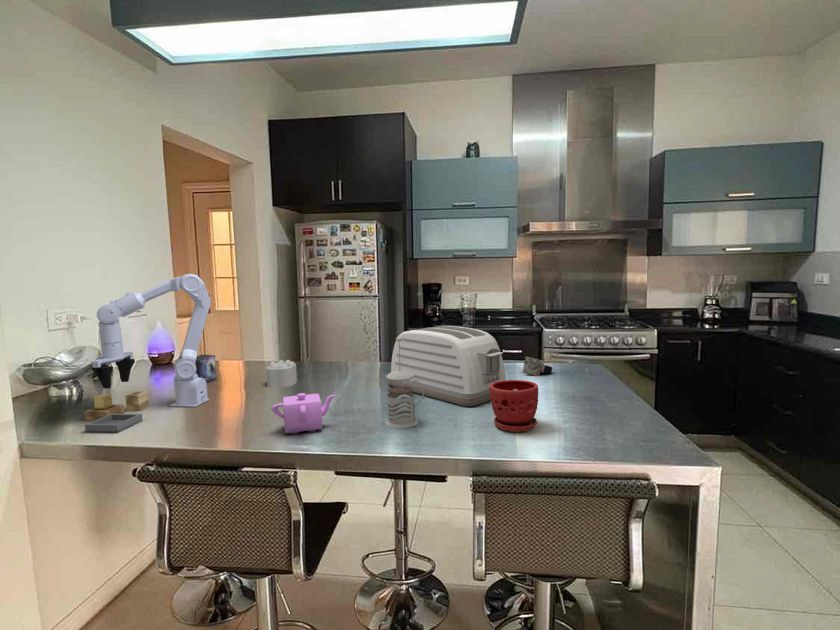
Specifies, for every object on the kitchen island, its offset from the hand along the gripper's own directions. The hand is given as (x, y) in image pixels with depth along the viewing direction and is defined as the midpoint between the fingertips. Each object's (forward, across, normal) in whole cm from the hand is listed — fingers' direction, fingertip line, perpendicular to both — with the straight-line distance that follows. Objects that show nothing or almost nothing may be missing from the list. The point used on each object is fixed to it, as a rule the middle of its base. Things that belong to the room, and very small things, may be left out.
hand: (116, 384), depth 148 cm
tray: (+10, +11, +8) cm, 17 cm away
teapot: (+10, +11, +66) cm, 67 cm away
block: (+10, -5, +3) cm, 11 cm away
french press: (+10, +4, +93) cm, 93 cm away
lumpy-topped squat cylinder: (+10, -40, +38) cm, 56 cm away
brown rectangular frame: (+10, +3, -2) cm, 10 cm away
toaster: (+11, -30, +104) cm, 108 cm away
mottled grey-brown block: (+11, -56, +139) cm, 150 cm away
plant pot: (+11, +6, +124) cm, 124 cm away
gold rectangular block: (+10, +3, -2) cm, 10 cm away
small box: (+10, -40, +4) cm, 41 cm away
